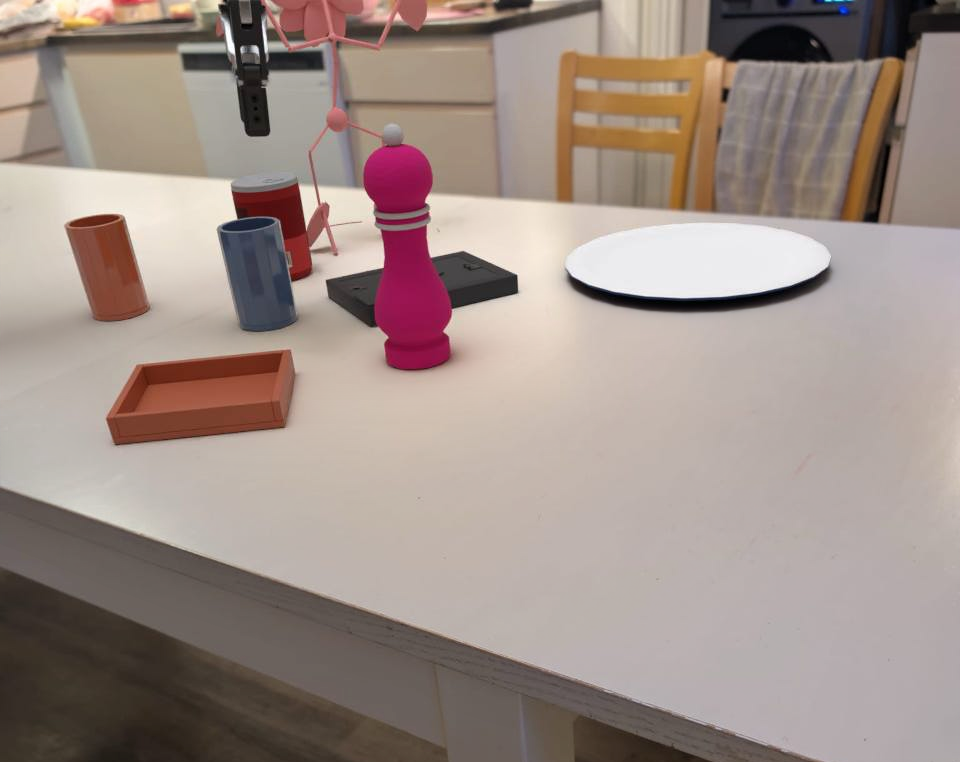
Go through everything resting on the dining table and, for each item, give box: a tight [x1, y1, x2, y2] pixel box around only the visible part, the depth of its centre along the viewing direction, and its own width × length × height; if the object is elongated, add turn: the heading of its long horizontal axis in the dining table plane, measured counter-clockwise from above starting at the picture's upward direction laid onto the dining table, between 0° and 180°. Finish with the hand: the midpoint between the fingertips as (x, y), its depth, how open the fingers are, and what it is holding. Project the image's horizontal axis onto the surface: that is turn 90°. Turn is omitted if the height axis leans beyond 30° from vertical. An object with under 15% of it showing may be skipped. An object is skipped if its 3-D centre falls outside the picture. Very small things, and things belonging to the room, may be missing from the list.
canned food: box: [230, 171, 313, 282], centre depth 113 cm, size 8×8×11 cm
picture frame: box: [325, 250, 519, 328], centre depth 105 cm, size 13×2×18 cm
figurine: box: [215, 0, 440, 256], centre depth 119 cm, size 15×26×35 cm, turn 119°
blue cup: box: [216, 217, 298, 332], centre depth 99 cm, size 6×6×10 cm
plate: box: [564, 222, 833, 302], centre depth 105 cm, size 29×29×2 cm
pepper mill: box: [362, 123, 453, 370], centre depth 84 cm, size 7×7×20 cm
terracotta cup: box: [63, 213, 150, 322], centre depth 106 cm, size 6×6×10 cm
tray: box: [105, 349, 296, 445], centre depth 83 cm, size 14×12×2 cm
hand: (255, 129), depth 86 cm, fingers open, 8 cm apart
